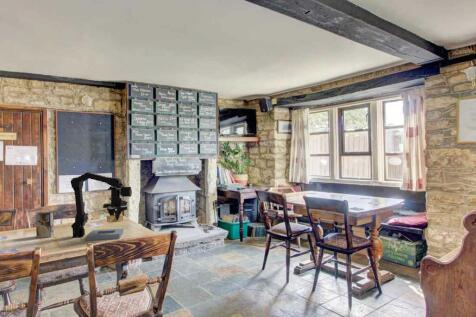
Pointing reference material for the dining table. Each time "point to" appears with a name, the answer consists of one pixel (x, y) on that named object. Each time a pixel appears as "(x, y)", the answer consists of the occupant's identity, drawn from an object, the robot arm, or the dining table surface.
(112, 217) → the bar
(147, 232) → the dining table surface
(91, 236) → the keyed plate
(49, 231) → the coffee box
